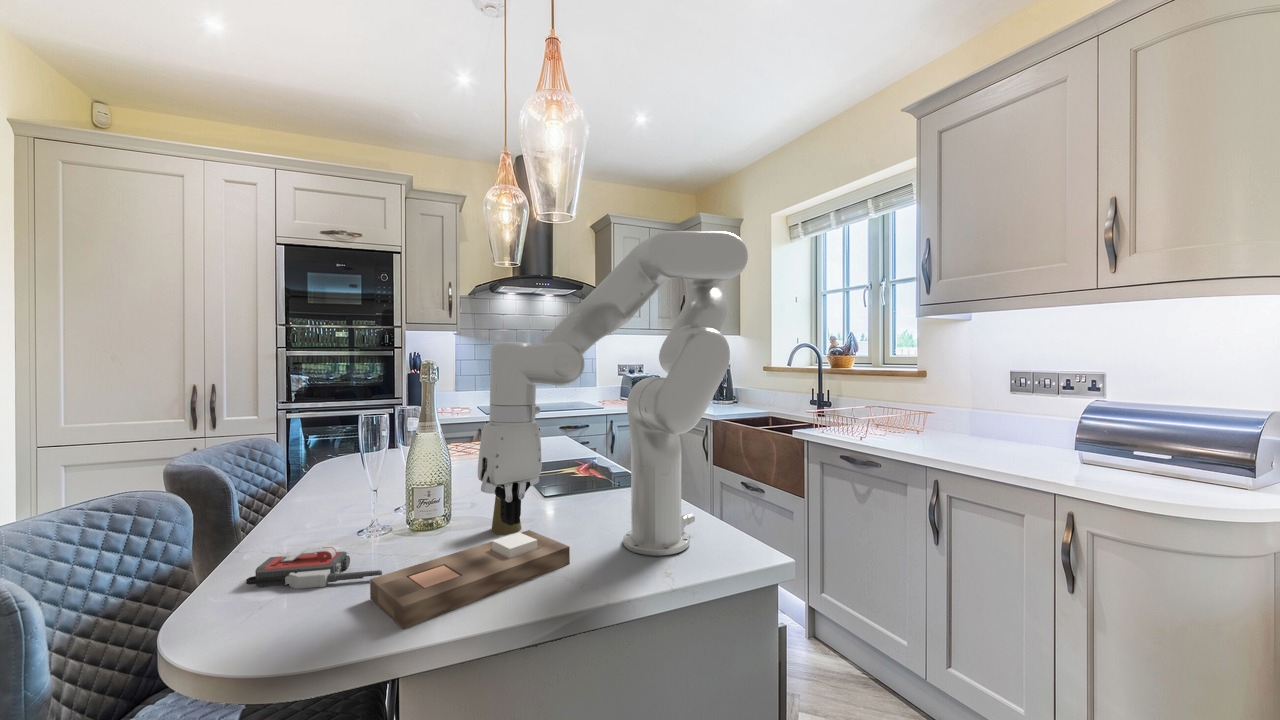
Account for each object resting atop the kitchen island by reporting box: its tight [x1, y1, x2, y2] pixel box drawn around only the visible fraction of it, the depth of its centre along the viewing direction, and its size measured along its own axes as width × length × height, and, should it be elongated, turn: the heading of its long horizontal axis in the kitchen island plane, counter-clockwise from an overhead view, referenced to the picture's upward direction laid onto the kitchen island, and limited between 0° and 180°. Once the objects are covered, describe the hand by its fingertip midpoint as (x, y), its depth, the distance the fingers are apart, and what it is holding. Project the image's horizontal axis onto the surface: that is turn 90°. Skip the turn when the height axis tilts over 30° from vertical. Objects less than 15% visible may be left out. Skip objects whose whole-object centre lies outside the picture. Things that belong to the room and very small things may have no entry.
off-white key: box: [491, 531, 537, 559], centre depth 86 cm, size 5×5×2 cm
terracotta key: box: [409, 565, 460, 589], centre depth 76 cm, size 5×5×2 cm
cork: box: [491, 495, 522, 536], centre depth 105 cm, size 6×6×11 cm
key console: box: [369, 529, 571, 630], centre depth 81 cm, size 28×12×3 cm, turn 137°
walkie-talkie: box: [245, 546, 383, 590], centre depth 83 cm, size 9×4×20 cm
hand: (510, 522), depth 86 cm, fingers closed
